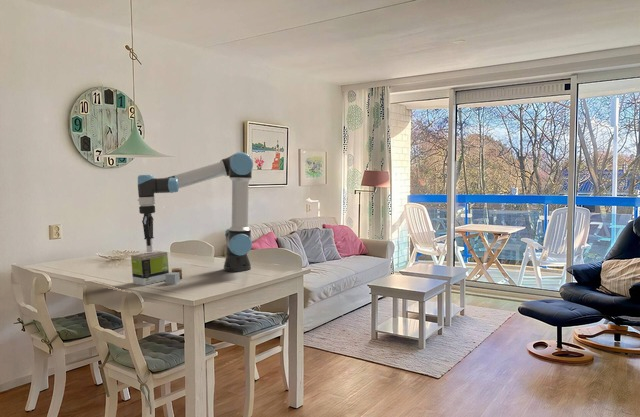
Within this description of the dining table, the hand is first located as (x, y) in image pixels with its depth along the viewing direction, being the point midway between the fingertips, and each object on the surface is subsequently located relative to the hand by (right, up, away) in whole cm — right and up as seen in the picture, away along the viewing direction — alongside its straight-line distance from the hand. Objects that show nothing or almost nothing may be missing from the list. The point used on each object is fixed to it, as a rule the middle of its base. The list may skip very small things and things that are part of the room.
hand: (149, 251), depth 247 cm
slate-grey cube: (+13, -16, -4) cm, 20 cm away
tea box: (0, -16, +1) cm, 16 cm away
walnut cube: (+12, -15, +7) cm, 20 cm away
